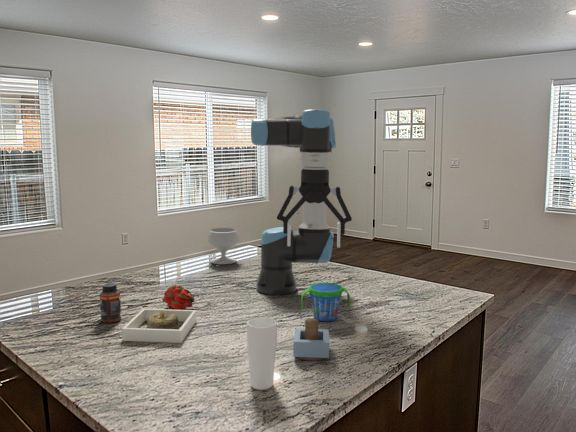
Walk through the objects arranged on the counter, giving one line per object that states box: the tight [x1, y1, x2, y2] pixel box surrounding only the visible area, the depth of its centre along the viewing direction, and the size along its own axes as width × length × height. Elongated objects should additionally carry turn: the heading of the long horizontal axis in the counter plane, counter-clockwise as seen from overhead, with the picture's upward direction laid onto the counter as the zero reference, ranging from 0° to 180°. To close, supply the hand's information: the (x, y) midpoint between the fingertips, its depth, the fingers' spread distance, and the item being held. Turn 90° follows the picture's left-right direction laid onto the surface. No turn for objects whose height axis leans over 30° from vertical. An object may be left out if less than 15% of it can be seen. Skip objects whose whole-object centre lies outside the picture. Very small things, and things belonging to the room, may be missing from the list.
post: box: [296, 317, 326, 362], centre depth 128 cm, size 9×9×9 cm
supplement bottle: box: [99, 282, 122, 324], centre depth 150 cm, size 6×6×11 cm
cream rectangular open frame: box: [121, 308, 197, 344], centre depth 143 cm, size 17×17×4 cm
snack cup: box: [300, 282, 351, 322], centre depth 154 cm, size 16×10×10 cm
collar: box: [293, 327, 330, 359], centre depth 128 cm, size 9×9×4 cm
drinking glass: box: [246, 316, 278, 391], centre depth 110 cm, size 7×7×15 cm
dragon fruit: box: [161, 284, 196, 310], centre depth 161 cm, size 8×8×12 cm
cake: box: [146, 311, 181, 330], centre depth 145 cm, size 10×10×5 cm
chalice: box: [207, 227, 240, 265], centre depth 225 cm, size 14×14×15 cm
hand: (313, 246), depth 134 cm, fingers open, 13 cm apart
